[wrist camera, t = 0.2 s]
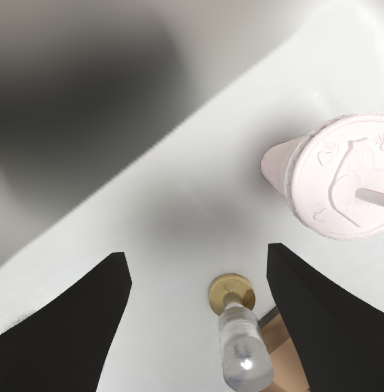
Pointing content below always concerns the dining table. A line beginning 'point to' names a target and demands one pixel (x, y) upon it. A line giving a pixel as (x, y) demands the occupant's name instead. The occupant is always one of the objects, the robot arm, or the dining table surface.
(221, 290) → the peg
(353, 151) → the smoothie
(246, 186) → the dining table surface
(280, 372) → the keyhole board
